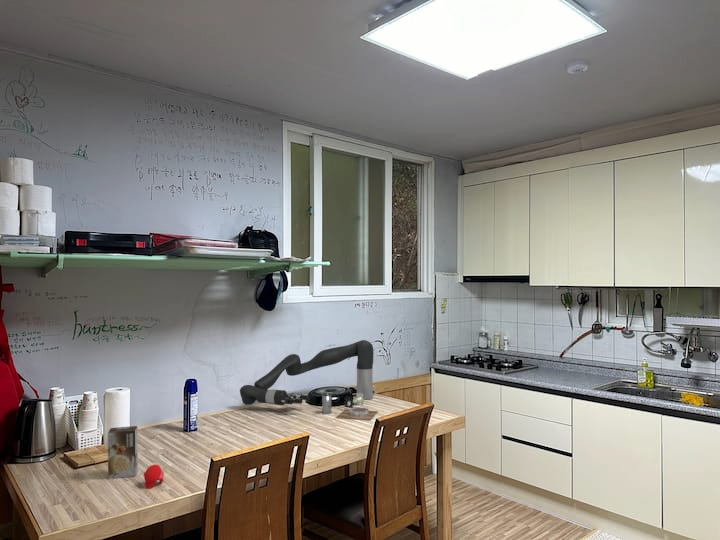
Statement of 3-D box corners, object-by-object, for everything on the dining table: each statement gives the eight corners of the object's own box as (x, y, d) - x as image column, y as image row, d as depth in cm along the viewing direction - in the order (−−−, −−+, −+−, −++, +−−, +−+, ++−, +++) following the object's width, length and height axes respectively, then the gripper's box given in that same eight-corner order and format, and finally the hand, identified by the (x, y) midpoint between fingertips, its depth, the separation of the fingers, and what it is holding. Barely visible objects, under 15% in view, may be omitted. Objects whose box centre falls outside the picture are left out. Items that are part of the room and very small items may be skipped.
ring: (352, 411, 259) (352, 406, 259) (370, 412, 257) (370, 408, 257) (347, 416, 250) (347, 411, 250) (366, 417, 248) (365, 412, 248)
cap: (147, 470, 174) (138, 466, 169) (164, 463, 175) (156, 459, 170) (149, 493, 170) (140, 490, 165) (166, 487, 170) (158, 483, 165)
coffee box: (138, 470, 183) (138, 425, 184) (135, 476, 177) (136, 430, 177) (110, 472, 181) (110, 427, 181) (107, 479, 174) (107, 432, 175)
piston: (323, 413, 260) (323, 391, 261) (332, 413, 259) (332, 392, 260) (321, 415, 256) (321, 393, 256) (329, 416, 255) (329, 394, 255)
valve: (357, 404, 280) (343, 408, 270) (357, 392, 280) (343, 396, 270) (366, 406, 276) (353, 410, 266) (366, 393, 276) (353, 397, 266)
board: (344, 411, 265) (344, 409, 265) (378, 413, 260) (378, 411, 260) (334, 420, 247) (334, 418, 247) (370, 422, 243) (370, 420, 243)
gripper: (270, 392, 257) (300, 395, 253) (281, 387, 271) (310, 389, 267) (270, 407, 257) (299, 410, 253) (281, 401, 271) (310, 403, 267)
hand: (305, 399), depth 260 cm, fingers open, 8 cm apart
